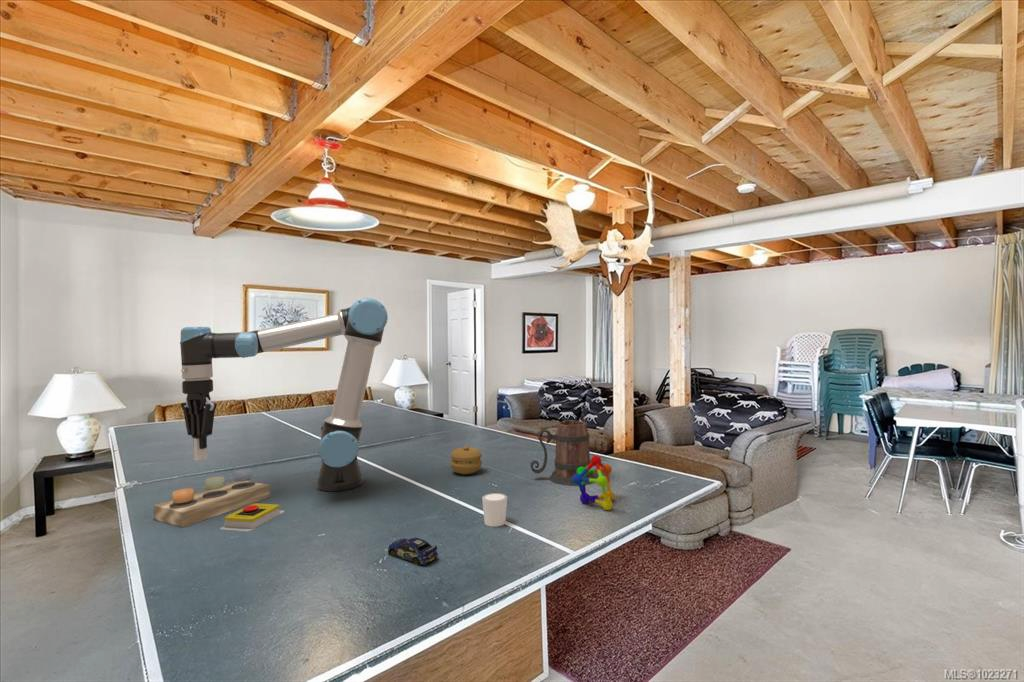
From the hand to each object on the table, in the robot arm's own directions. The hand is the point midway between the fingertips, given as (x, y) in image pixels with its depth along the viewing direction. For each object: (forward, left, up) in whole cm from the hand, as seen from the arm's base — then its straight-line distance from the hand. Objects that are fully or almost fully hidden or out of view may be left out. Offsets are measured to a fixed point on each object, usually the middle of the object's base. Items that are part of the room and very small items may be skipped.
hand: (200, 459), depth 137 cm
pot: (-51, -66, -16) cm, 85 cm away
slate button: (0, -13, -10) cm, 16 cm away
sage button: (0, -4, -10) cm, 11 cm away
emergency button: (-19, -3, -17) cm, 26 cm away
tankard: (-87, -73, -16) cm, 115 cm away
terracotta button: (0, +5, -11) cm, 11 cm away
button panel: (0, -4, -16) cm, 16 cm away
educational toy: (-104, -52, -16) cm, 117 cm away
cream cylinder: (-83, -28, -16) cm, 89 cm away
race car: (-74, -3, -16) cm, 75 cm away
